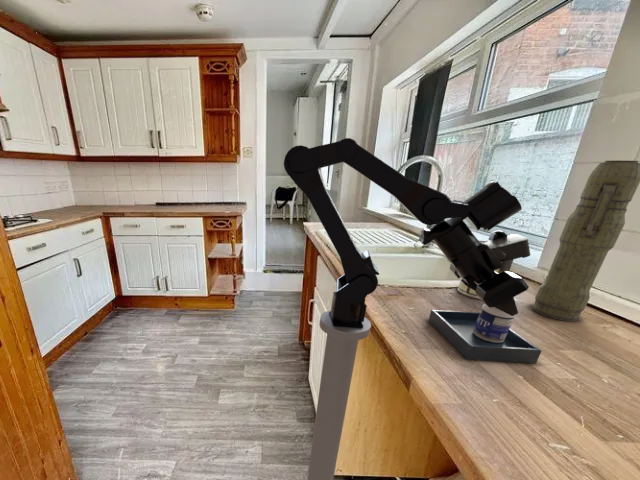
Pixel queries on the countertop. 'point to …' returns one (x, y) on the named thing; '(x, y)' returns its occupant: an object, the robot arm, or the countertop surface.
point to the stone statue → (587, 239)
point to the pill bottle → (492, 324)
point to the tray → (461, 336)
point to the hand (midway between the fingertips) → (507, 308)
